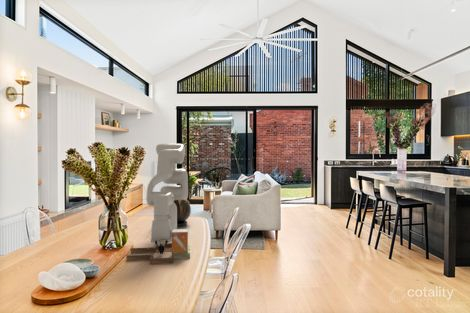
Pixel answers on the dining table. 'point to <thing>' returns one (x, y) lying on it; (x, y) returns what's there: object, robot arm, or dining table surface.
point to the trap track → (151, 256)
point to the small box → (180, 241)
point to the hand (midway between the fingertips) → (161, 253)
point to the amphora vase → (182, 211)
